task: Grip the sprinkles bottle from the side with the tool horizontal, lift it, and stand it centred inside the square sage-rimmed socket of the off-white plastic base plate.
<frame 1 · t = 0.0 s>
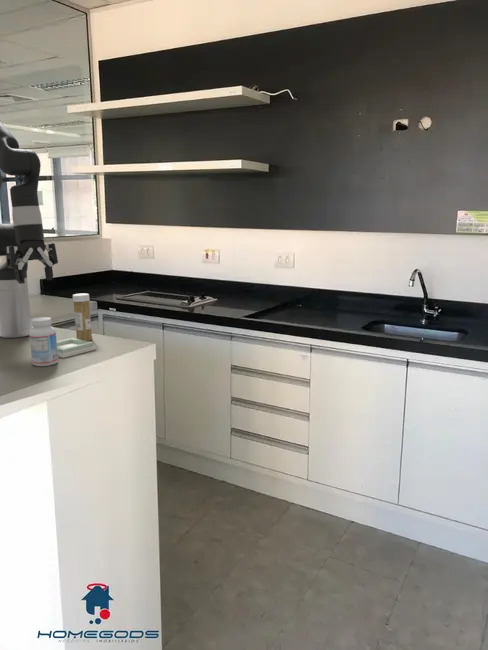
hand: (35, 281, 155), 17 cm above the countertop, tool pointing down, fingers open, 8 cm apart
socket plate: (68, 350, 147), on the countertop
sprinkles bottle: (84, 340, 159), on the countertop
pill bottle: (45, 364, 135), on the countertop
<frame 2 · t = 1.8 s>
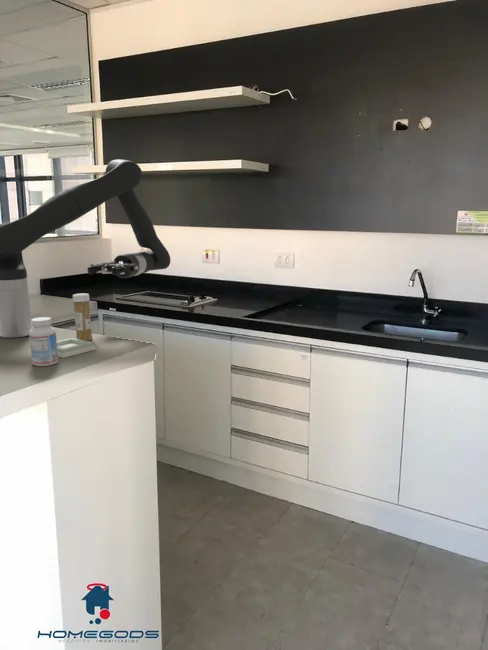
hand: (100, 270, 164), 19 cm above the countertop, tool horizontal, fingers open, 8 cm apart
nothing on the countertop moved.
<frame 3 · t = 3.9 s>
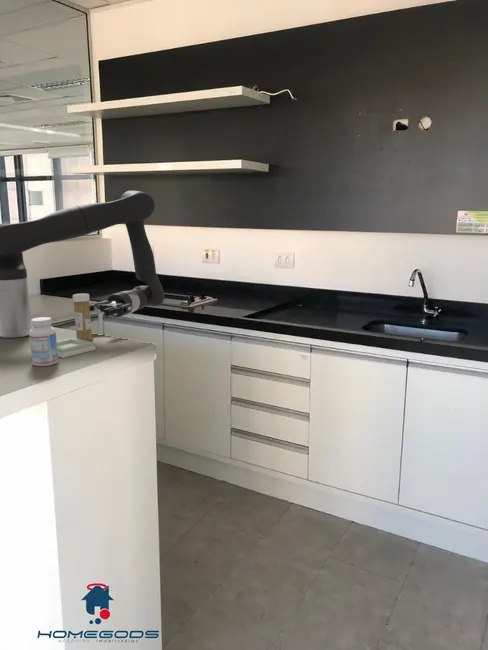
hand: (93, 312, 162), 7 cm above the countertop, tool horizontal, fingers open, 8 cm apart
nothing on the countertop moved.
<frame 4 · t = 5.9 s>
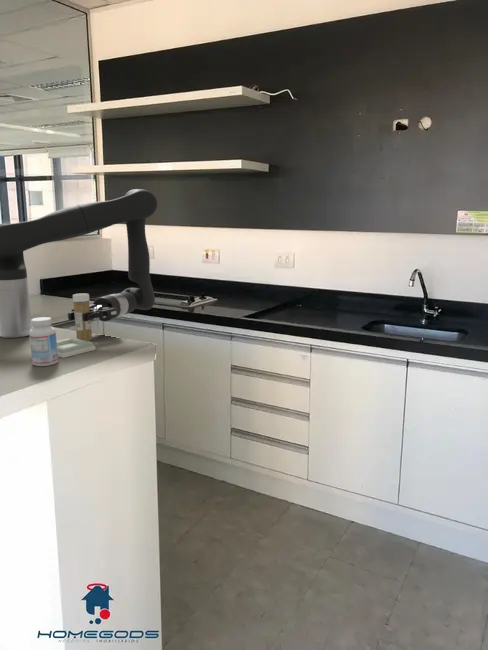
hand: (76, 317, 155), 7 cm above the countertop, tool horizontal, fingers closed on sprinkles bottle, 4 cm apart
sprinkles bottle: (84, 340, 159), on the countertop, touching gripper
everything else where it was.
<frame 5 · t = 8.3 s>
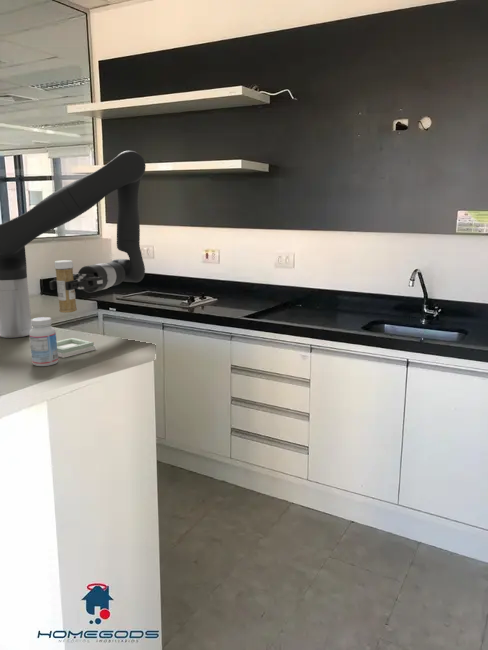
hand: (59, 285, 142), 18 cm above the countertop, tool horizontal, fingers closed on sprinkles bottle, 4 cm apart
sprinkles bottle: (68, 312, 146), point 10 cm above the countertop, touching gripper
everything else where it was.
when the fingers open (9 cm above the countertop, at t = 10.9 s): sprinkles bottle stays where it is, resting on socket plate.
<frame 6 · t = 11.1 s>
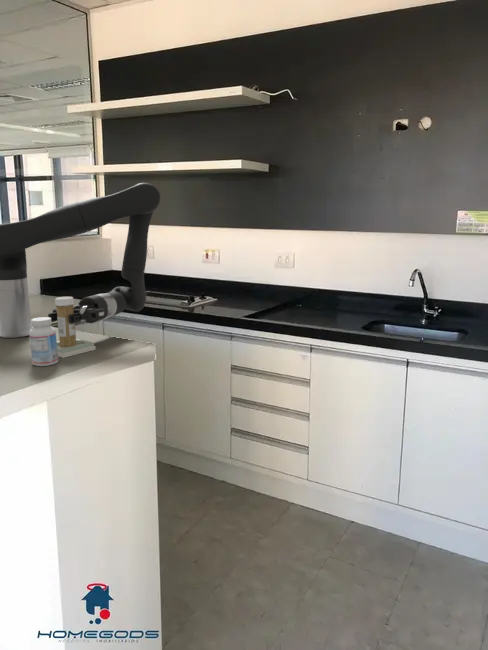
hand: (59, 318, 143), 9 cm above the countertop, tool horizontal, fingers open, 6 cm apart
sprinkles bottle: (68, 347, 147), point 1 cm above the countertop, touching socket plate
everything else where it was.
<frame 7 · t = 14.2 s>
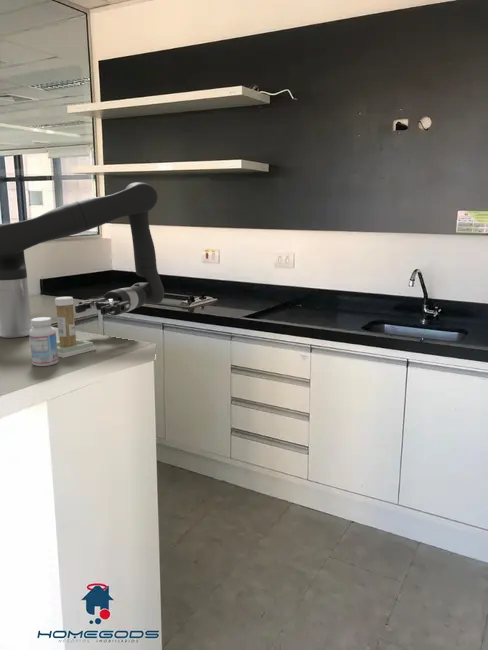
hand: (88, 310, 154), 9 cm above the countertop, tool horizontal, fingers open, 8 cm apart
nothing on the countertop moved.
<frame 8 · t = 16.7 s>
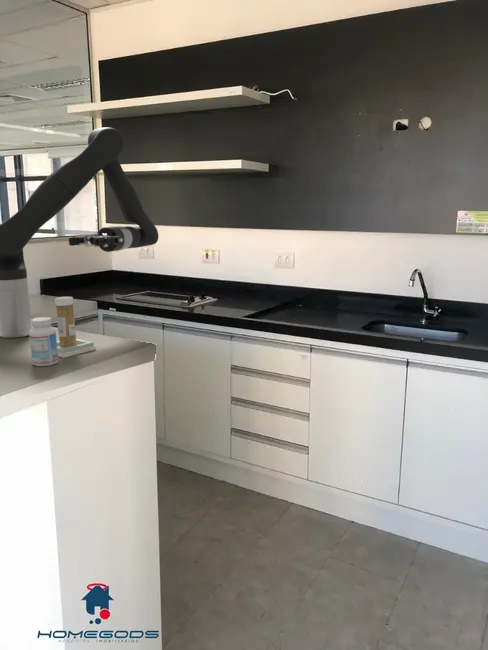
hand: (82, 241, 155), 28 cm above the countertop, tool horizontal, fingers open, 8 cm apart
nothing on the countertop moved.
at the end: sprinkles bottle 0.2 cm off-centre on the socket plate, point 0.8 cm above the socket plate's base; sprinkles bottle tilted 0°; the gripper is holding nothing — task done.
